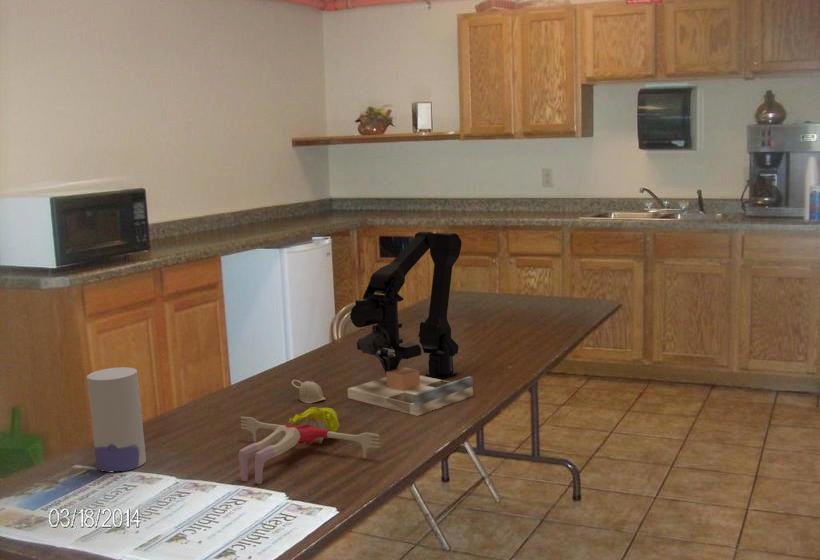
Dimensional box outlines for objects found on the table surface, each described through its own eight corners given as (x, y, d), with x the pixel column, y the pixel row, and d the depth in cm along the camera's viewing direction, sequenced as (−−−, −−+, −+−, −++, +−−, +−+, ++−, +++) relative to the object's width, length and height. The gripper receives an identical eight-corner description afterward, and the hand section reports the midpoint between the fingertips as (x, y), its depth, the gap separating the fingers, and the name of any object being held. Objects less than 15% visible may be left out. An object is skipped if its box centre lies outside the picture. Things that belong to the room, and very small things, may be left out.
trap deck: (403, 380, 242) (402, 362, 241) (472, 396, 225) (472, 376, 224) (348, 398, 228) (346, 379, 228) (417, 415, 211) (416, 395, 210)
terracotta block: (403, 381, 232) (402, 366, 231) (419, 385, 227) (419, 370, 227) (386, 387, 228) (386, 371, 227) (403, 390, 223) (402, 375, 223)
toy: (381, 461, 183) (378, 419, 181) (245, 488, 172) (241, 444, 171) (336, 422, 209) (334, 386, 207) (216, 444, 198) (212, 406, 196)
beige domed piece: (318, 404, 224) (317, 384, 223) (290, 401, 228) (289, 381, 227) (326, 400, 228) (325, 379, 227) (299, 397, 232) (298, 377, 231)
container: (151, 454, 193) (142, 365, 190) (139, 471, 183) (129, 377, 180) (105, 457, 193) (95, 367, 190) (90, 474, 183) (79, 380, 180)
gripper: (339, 321, 229) (343, 380, 232) (389, 330, 216) (392, 392, 219) (371, 314, 237) (374, 371, 239) (421, 322, 224) (424, 382, 226)
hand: (390, 379), depth 231 cm, fingers closed
